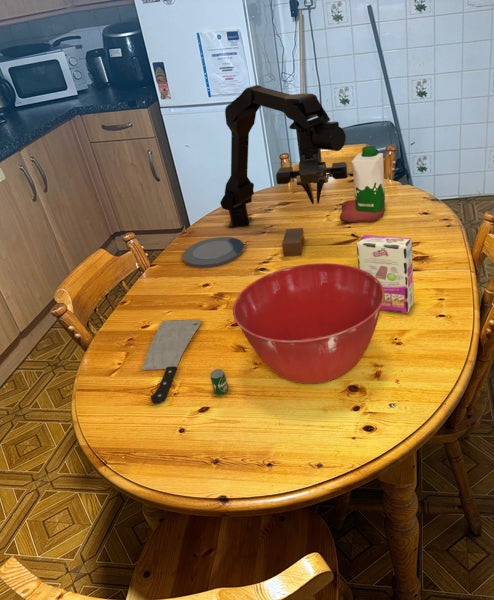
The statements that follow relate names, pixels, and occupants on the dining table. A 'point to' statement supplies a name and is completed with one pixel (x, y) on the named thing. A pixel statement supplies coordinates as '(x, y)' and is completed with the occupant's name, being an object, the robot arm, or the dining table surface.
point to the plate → (213, 252)
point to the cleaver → (169, 351)
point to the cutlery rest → (293, 242)
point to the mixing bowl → (310, 319)
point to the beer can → (219, 382)
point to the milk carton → (369, 180)
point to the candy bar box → (389, 268)
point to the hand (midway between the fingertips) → (315, 203)
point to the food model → (358, 213)
